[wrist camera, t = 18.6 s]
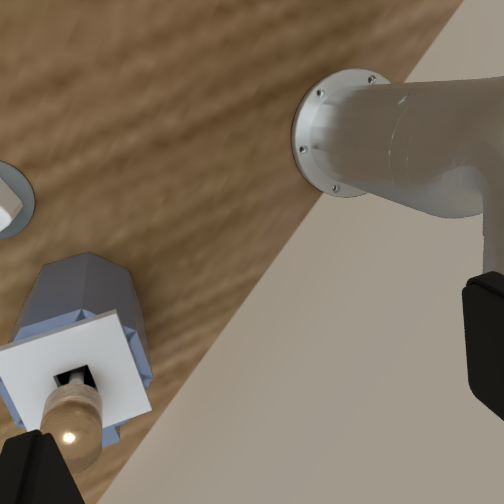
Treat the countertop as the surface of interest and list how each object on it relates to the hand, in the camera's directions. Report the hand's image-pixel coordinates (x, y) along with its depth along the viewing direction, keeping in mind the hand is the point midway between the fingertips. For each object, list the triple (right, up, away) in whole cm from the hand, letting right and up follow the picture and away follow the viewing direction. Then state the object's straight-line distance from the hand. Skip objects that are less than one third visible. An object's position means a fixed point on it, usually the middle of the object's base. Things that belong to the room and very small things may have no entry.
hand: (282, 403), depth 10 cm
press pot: (-17, -3, +37) cm, 41 cm away
